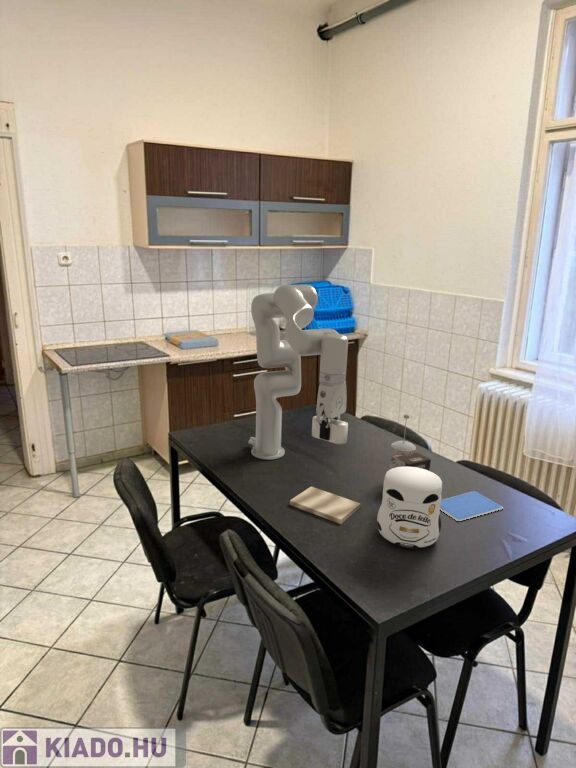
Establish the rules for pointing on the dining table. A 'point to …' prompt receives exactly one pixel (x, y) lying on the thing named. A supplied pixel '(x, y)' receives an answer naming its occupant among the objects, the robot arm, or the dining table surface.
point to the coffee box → (413, 461)
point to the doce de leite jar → (410, 507)
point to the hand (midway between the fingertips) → (329, 436)
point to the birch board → (325, 504)
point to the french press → (401, 447)
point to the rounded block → (332, 430)
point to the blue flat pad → (468, 506)
